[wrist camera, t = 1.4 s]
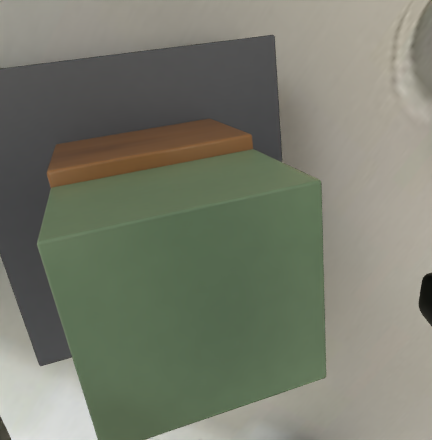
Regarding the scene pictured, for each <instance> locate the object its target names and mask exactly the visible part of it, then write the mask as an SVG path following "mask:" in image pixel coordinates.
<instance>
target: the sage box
mask: <svg viewBox="0 0 432 440" xmlns="http://www.w3.org/2000/svg"><path fill="white" fill-rule="evenodd" d="M37 246H38V249H39V253H40V256H41V259H42V262H43V265H44V269H45V272H46V275H47V278H48V281H49V285H50V288H51V291H52V294H53V297H54V301H55V304H56V307H57V310H58V313H59V317H60V320H61V323H62V326H63V329H64V333H65V336H66V339H67V342H68V345H69V349H70V352H71V355H72V358H73V361H74V365H75V368H76V371H77V374H78V377H79V381H80V384H81V387H82V390H83V393H84V397H85V400H86V403H87V406H88V409H89V413H90V416H91V419H92V422H93V425H94V429H95V432H96V435H97V438H98V440H145V439H148V438H151V437H154V436H157V435H160V434H162V433H165V432H168V431H171V430H174V429H177V428H180V427H183V426H186V425H189V424H192V423H195V422H198V421H200V420H203V419H206V418H209V417H212V416H215V415H218V414H221V413H224V412H227V411H230V410H233V409H236V408H238V407H241V406H244V405H247V404H250V403H253V402H256V401H259V400H262V399H265V398H268V397H271V396H274V395H276V394H279V393H282V392H285V391H288V390H291V389H294V388H297V387H300V386H303V385H306V384H309V383H312V382H314V381H317V380H320V379H323V378H325V377H326V347H325V308H324V268H323V229H322V190H321V181H320V180H319V179H317V178H314V177H312V176H310V175H308V174H306V173H304V172H302V171H299V170H297V169H295V168H293V167H291V166H289V165H286V164H284V163H282V162H280V161H278V160H276V159H274V158H271V157H269V156H267V155H265V154H263V153H261V152H259V151H256V150H254V149H251V150H246V151H241V152H236V153H230V154H225V155H220V156H215V157H209V158H204V159H199V160H194V161H189V162H183V163H178V164H173V165H168V166H162V167H157V168H152V169H147V170H141V171H136V172H131V173H126V174H120V175H115V176H110V177H105V178H99V179H94V180H89V181H84V182H78V183H73V184H68V185H63V186H58V187H52V188H51V190H50V194H49V198H48V202H47V206H46V209H45V213H44V217H43V221H42V225H41V229H40V233H39V237H38V241H37Z"/></svg>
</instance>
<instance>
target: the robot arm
mask: <svg viewBox="0 0 432 440" xmlns="http://www.w3.org/2000/svg"><path fill="white" fill-rule="evenodd" d="M419 308H420V311H421V313H422V315H423V316H424V317H425V318H426V320H427V321H428V322H429V324H430V325H431V326H432V273H429V274H426V275H425V276H424V277H423V280H422V285H421V291H420V297H419ZM0 440H11V438H10V436H9V433H8V431H7V429H6V427H5V425H4V423H3V421H2V419H1V417H0Z"/></svg>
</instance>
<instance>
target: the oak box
mask: <svg viewBox="0 0 432 440" xmlns="http://www.w3.org/2000/svg"><path fill="white" fill-rule="evenodd" d="M251 149H253V141H252V135H251V134H249V133H246V132H244V131H241V130H239V129H236V128H233V127H231V126H228V125H226V124H223V123H220V122H218V121H215V120H213V119H204V120H198V121H192V122H186V123H180V124H174V125H168V126H162V127H156V128H150V129H144V130H138V131H132V132H126V133H120V134H114V135H108V136H103V137H97V138H91V139H85V140H79V141H73V142H67V143H61V144H57V145H56V146H55V149H54V152H53V155H52V158H51V161H50V164H49V167H48V170H47V177H48V180H49V184H50V187H51V188H52V187H58V186H63V185H68V184H73V183H78V182H84V181H89V180H94V179H99V178H105V177H110V176H115V175H120V174H126V173H131V172H136V171H141V170H147V169H152V168H157V167H162V166H168V165H173V164H178V163H183V162H189V161H194V160H199V159H204V158H209V157H215V156H220V155H225V154H230V153H236V152H241V151H246V150H251Z"/></svg>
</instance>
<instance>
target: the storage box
mask: <svg viewBox="0 0 432 440" xmlns="http://www.w3.org/2000/svg"><path fill="white" fill-rule="evenodd" d="M204 119H213V120H215V121H218V122H220V123H223V124H226V125H228V126H231V127H233V128H236V129H239V130H241V131H244V132H246V133H249V134H251V135H252V141H253V149H254V150H256V151H259V152H261V153H263V154H265V155H267V156H269V157H271V158H274V159H276V160H278V161H280V162H282V150H281V134H280V117H279V101H278V85H277V68H276V52H275V37H274V35H268V36H260V37H252V38H244V39H236V40H228V41H220V42H212V43H204V44H196V45H187V46H179V47H171V48H163V49H155V50H147V51H139V52H131V53H123V54H115V55H107V56H99V57H91V58H83V59H75V60H67V61H59V62H50V63H42V64H34V65H26V66H18V67H10V68H2V69H0V255H1V258H2V261H3V264H4V267H5V269H6V272H7V275H8V278H9V281H10V284H11V286H12V289H13V292H14V295H15V298H16V301H17V303H18V306H19V309H20V312H21V315H22V318H23V320H24V323H25V326H26V329H27V332H28V335H29V337H30V340H31V343H32V346H33V349H34V352H35V354H36V357H37V360H38V363H39V365H40V366H43V365H47V364H50V363H54V362H57V361H61V360H64V359H68V358H72V355H71V352H70V349H69V345H68V342H67V339H66V336H65V333H64V329H63V326H62V323H61V320H60V317H59V313H58V310H57V307H56V304H55V301H54V297H53V294H52V291H51V288H50V285H49V281H48V278H47V275H46V272H45V269H44V265H43V262H42V259H41V256H40V253H39V249H38V246H37V241H38V237H39V233H40V229H41V225H42V221H43V217H44V213H45V209H46V206H47V202H48V198H49V194H50V190H51V187H50V184H49V180H48V177H47V170H48V167H49V164H50V161H51V158H52V155H53V152H54V149H55V146H56V145H57V144H61V143H67V142H73V141H79V140H85V139H91V138H97V137H103V136H108V135H114V134H120V133H126V132H132V131H138V130H144V129H150V128H156V127H162V126H168V125H174V124H180V123H186V122H192V121H198V120H204Z"/></svg>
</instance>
